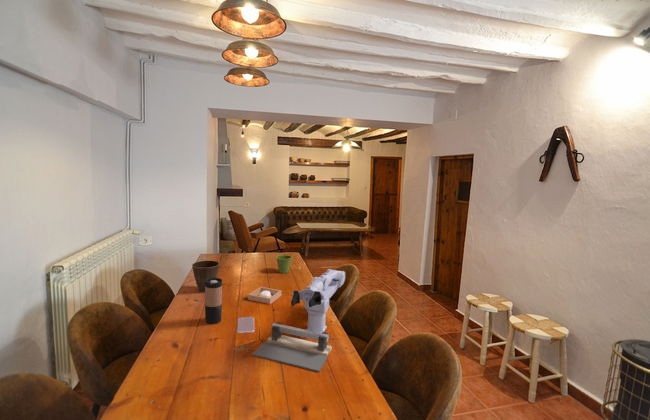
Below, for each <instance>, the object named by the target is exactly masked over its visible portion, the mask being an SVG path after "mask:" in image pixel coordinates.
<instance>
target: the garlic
mask: <svg viewBox="0 0 650 420" xmlns="http://www.w3.org/2000/svg"><path fill="white" fill-rule="evenodd" d="M258 296H262V297H267V298H270V297H272V296H273V295H272V294H271V293H270V292H269V291H266V290H265V291H262V292H261V293H259V294H258Z"/></svg>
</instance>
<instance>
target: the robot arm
mask: <svg viewBox="0 0 650 420" xmlns="http://www.w3.org/2000/svg"><path fill="white" fill-rule="evenodd" d="M345 281H346V272H345V271H344V270H342V271H341V270H336V269H330V268H328V269H327V270H326V271H325V272H324V273H322V274H321V275H320V276H314V277H312V281H310V285H308V286H307V285H306V286H305V289H302V290H293V292H292V293H291V298H292V299H291V300H290V304H291V307H294V306H296V305H298V304H301V301H303V302H304V308H305V310H306V312H307V313H308V315H307V316H308V317H307V318H308V320H307V328H306V329H305V330H309V331H314V332H319V333H322V332H325V331H326V329H327V328H328V326H327V325H326V317H327V316H326V315H327V314H326V313H327V312H328V309H329V307H330V299H331V298H332V296H333V295H334V294H335V293H336V292H337V290H338V288H339V289H340V288H341V287H342V286H343V285H344V283H345Z"/></svg>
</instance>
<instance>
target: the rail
mask: <svg viewBox="0 0 650 420" xmlns="http://www.w3.org/2000/svg"><path fill="white" fill-rule="evenodd" d="M276 323H277V322H273V323H272V324H271V327H272V326H275V327H278V332H282V333H283V334H287V335H292V336H297V337H302V338H306V339H311V340H315V341H318V339H319V336H321V337H325V342H327V343H328V341H329V337H330V335H329V333H328V334H323V333H319V332H314V331H309V330H306V329H304V328H299V327H295V326H289V325H284V324H282V325H281V324H276Z"/></svg>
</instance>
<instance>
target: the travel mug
mask: <svg viewBox="0 0 650 420" xmlns="http://www.w3.org/2000/svg"><path fill="white" fill-rule="evenodd" d="M222 307H223V279H222V278H219V277H217V278H210V279H207V280H206V281H205V292H204V320H205V321H204V323H206V324H207V325H217V324H219V323H220V322H221V321H222V310H223V309H222Z"/></svg>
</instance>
